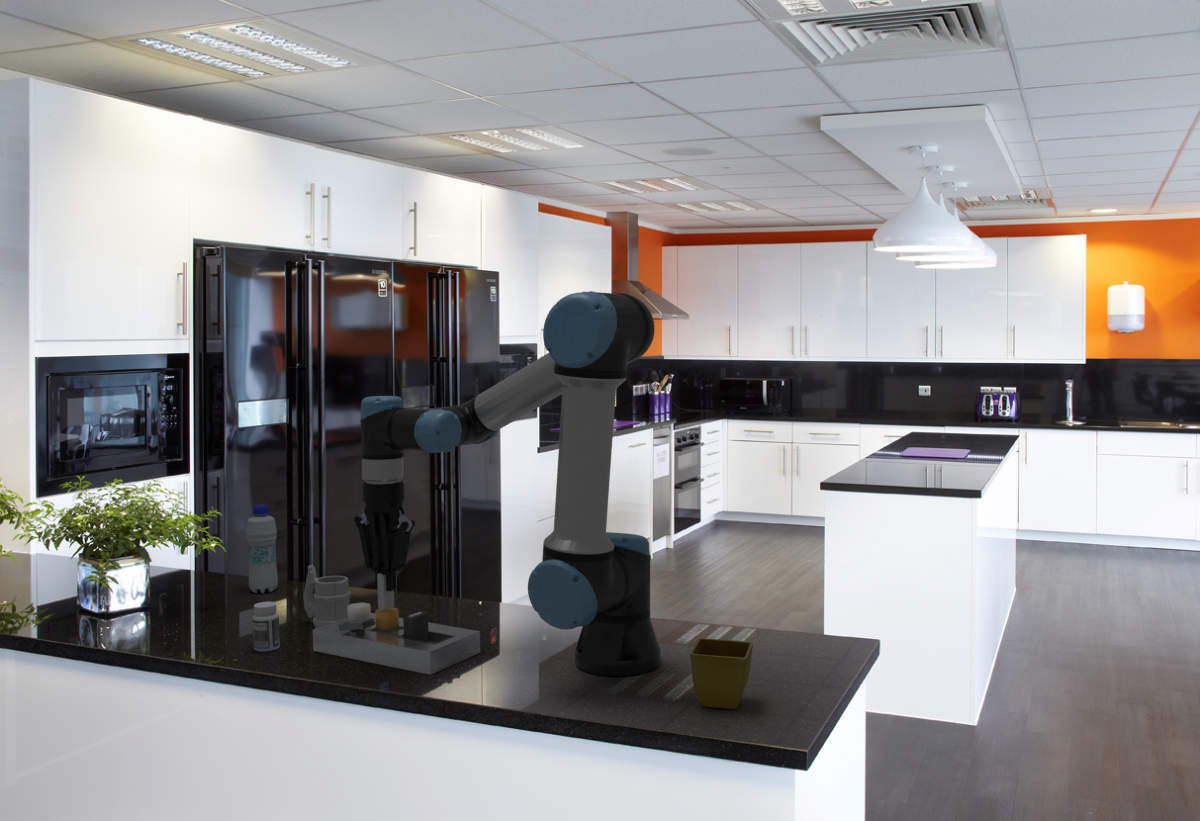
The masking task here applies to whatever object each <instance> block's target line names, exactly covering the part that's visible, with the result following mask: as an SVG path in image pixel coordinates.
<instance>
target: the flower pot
mask: <svg viewBox="0 0 1200 821" xmlns="http://www.w3.org/2000/svg"><path fill="white" fill-rule="evenodd" d="M753 646H754V643H753V642H751V641H743V640H730V639H720V638H718V639H717V638H714V639H713V638H700V637H699V638H698V639H697V640H696V643H695V644H694V646H693V648H692V649H691V651H690V653H689V656H690V657H689V658H690V666H691V675H692V684H693V687H694V691H695V694H696V696H697V698H698V700H699V702H700V703H701V705H702V706H703V707H707V708H716V709H719V708H720V709H728V710H736V709H737V708H738V706H739V703H740V701H741V699H742V698H743V695H744V691H745V688H746V686H747V683H748V680H749V677H750V676H749V675H750V671H751V665H752V664H751V662H752V654H753Z"/></svg>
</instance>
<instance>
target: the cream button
mask: <svg viewBox="0 0 1200 821" xmlns="http://www.w3.org/2000/svg"><path fill="white" fill-rule="evenodd" d="M347 608H348V621H353V620H362V619H371V613H372V611H371V604H370V603H367V602H355V603H350V605H348V606H347Z"/></svg>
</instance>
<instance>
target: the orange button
mask: <svg viewBox="0 0 1200 821" xmlns="http://www.w3.org/2000/svg"><path fill="white" fill-rule="evenodd" d="M399 612H400V611H399V608H397V607H391V608H388V609H385V610H383V609H378V608H377V609H375V612H374V613H375V616H376V628H377V629H382V630H387V629H394V628H397V627H399V618H400V617H399V616H400V615H399Z"/></svg>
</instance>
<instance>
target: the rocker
mask: <svg viewBox="0 0 1200 821" xmlns="http://www.w3.org/2000/svg"><path fill="white" fill-rule="evenodd" d="M373 625H375V622H374V618H371V619H362V620H353V621H348V622H345V623H342V624H339V630H340V631H347V630H357V629H364V628H367V627H370V626H373Z"/></svg>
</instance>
